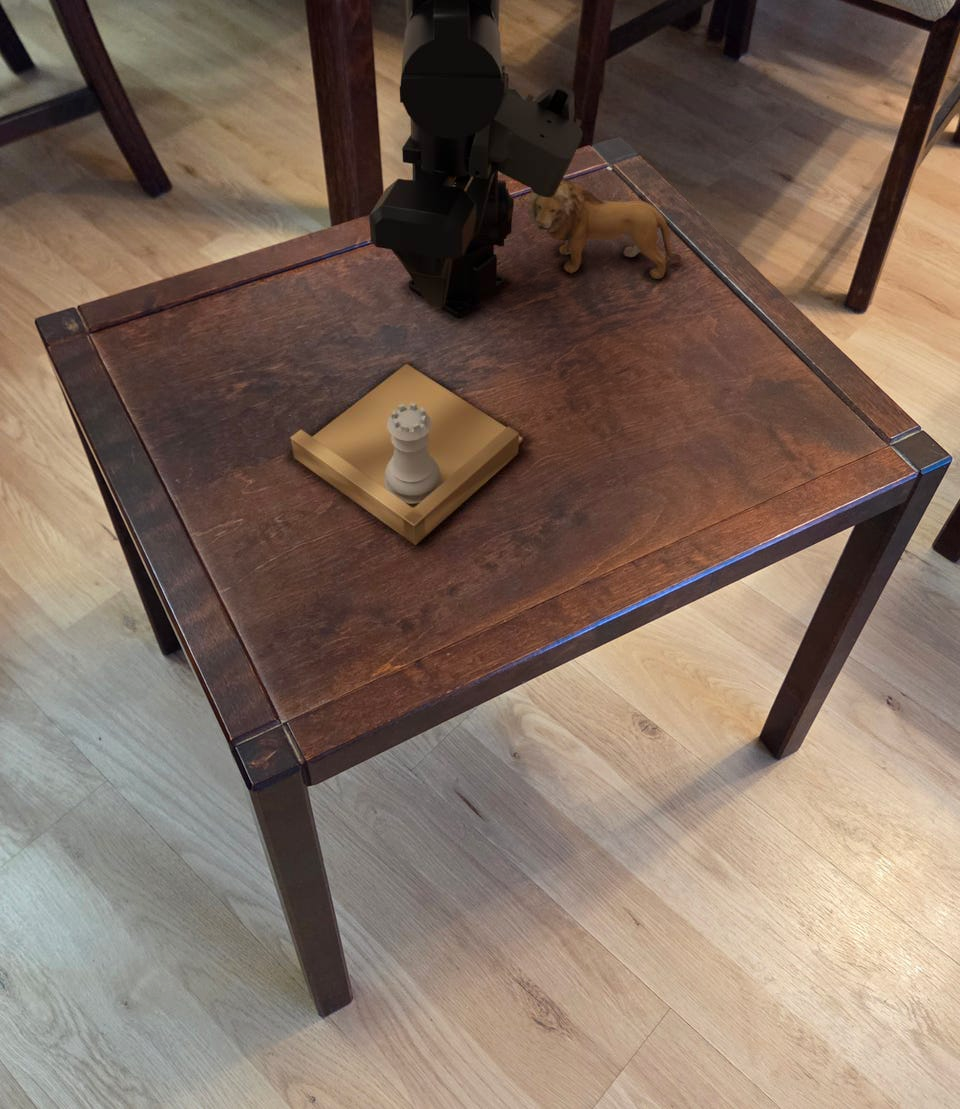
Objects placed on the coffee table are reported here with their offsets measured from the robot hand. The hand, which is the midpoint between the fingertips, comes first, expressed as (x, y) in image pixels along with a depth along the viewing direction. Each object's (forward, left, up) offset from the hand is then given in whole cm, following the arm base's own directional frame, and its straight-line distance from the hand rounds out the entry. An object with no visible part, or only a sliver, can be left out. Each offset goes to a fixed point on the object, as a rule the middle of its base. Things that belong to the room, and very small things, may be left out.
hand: (454, 270), depth 79 cm
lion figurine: (-1, +21, -13) cm, 25 cm away
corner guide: (+2, -7, -13) cm, 15 cm away
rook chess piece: (+4, -10, -13) cm, 17 cm away
